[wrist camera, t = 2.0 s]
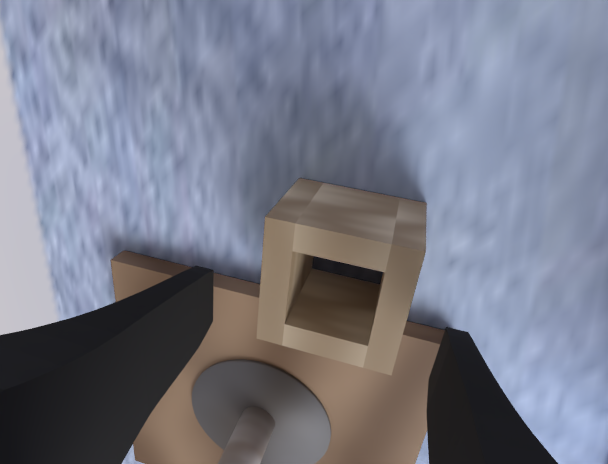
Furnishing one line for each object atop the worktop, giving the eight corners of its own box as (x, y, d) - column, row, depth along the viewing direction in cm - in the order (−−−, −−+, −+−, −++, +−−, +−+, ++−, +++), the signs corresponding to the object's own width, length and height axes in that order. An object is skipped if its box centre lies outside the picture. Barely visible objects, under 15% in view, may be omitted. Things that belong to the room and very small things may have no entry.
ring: (426, 202, 16) (425, 251, 12) (398, 309, 18) (391, 375, 15) (299, 178, 17) (264, 216, 13) (288, 282, 19) (256, 338, 16)
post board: (455, 332, 18) (464, 443, 13) (386, 530, 25) (375, 650, 20) (123, 250, 21) (32, 316, 16) (144, 446, 28) (84, 533, 23)
